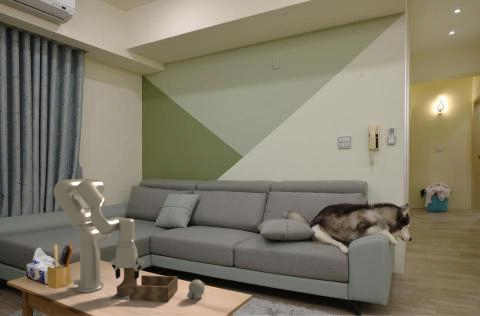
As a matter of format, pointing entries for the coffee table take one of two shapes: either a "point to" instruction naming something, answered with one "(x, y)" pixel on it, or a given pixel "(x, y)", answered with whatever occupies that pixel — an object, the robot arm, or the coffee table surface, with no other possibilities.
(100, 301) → the coffee table surface
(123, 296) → the mat
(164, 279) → the crate
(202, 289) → the toy rhinoceros
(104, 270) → the coffee table surface
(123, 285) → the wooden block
